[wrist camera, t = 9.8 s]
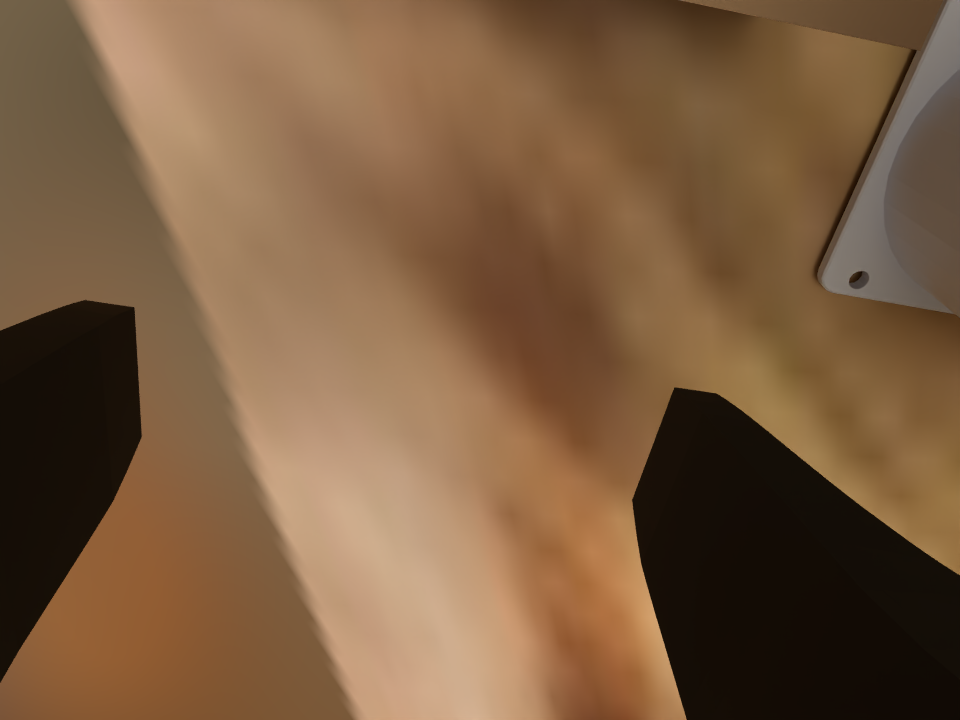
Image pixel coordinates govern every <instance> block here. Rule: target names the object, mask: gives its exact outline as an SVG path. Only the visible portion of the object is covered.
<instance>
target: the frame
mask: <svg viewBox="0 0 960 720" xmlns="http://www.w3.org/2000/svg"><path fill="white" fill-rule="evenodd" d="M680 1H685V2H690V3H695V4H700V5H704V6H709V7H714V8H719V9H723V10H728V11H733V12H738V13H742V14H747V15H752V16H757V17H761V18H766V19H771V20H776V21H780V22H785V23H790V24H795V25H799V26H804V27H809V28H814V29H818V30H823V31H828V32H833V33H838V34H842V35H847V36H852V37H857V38H861V39H866V40H871V41H876V42H880V43H885V44H890V45H895V46H899V47H904V48H909V49H914V50H918V51H920V50H921V48H922V46H923V44H924V42H925V39H926V37H927V35H928V33H929V31H930V28H931V26H932V24H933V22H934V20H935V17H936V15H937V13H938V11H939V8H940V6H941V4H942V2H943V0H680Z"/></svg>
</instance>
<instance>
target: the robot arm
mask: <svg viewBox="0 0 960 720" xmlns="http://www.w3.org/2000/svg"><path fill="white" fill-rule="evenodd" d="M858 271H863V272H862V276H861V277H860V278H859V280H857V281H855V282H854V283H849V279H850V277H851V276H852V275H853V274H854V273H856V272H858ZM817 277H818V281H819V282H820V284H821V285H822V286H823V287H824V288H825V289H826V290H827V291H829V292H832V293H836V294H842V295H848V296H854V297H859V298H865V299H871V300H876V301H882V302H888V303H894V304H899V305H905V306H911V307H917V308H922V309H928V310H934V311H939V312H945V313H951V314H956V315H957V316H958V317H959V318H960V0H943V2H942V4H941V6H940V8H939V11H938V13H937V15H936V17H935V20H934V22H933V24H932V26H931V28H930V31H929V33H928V35H927V37H926V39H925V42H924V44H923V46H922V48H921V50H920V51H918V50H917V52H916V54H915V56H914V58H913V61H912V63H911V65H910V67H909V70H908V72H907V74H906V76H905V78H904V81H903V83H902V85H901V87H900V90H899V92H898V94H897V96H896V98H895V101H894V103H893V105H892V107H891V109H890V112H889V114H888V116H887V118H886V121H885V123H884V125H883V127H882V129H881V132H880V134H879V136H878V138H877V141H876V143H875V145H874V147H873V149H872V152H871V154H870V156H869V158H868V160H867V163H866V165H865V167H864V169H863V172H862V174H861V176H860V178H859V180H858V183H857V185H856V187H855V189H854V192H853V194H852V196H851V198H850V200H849V203H848V205H847V207H846V209H845V211H844V214H843V216H842V218H841V220H840V223H839V225H838V227H837V229H836V231H835V234H834V236H833V238H832V240H831V243H830V245H829V247H828V249H827V251H826V254H825V256H824V258H823V260H822V262H821V265H820V267H819V270H818V274H817ZM141 437H142V435H141V417H140V398H139V381H138V364H137V345H136V327H135V311H134V307H127V306H120V305H114V304H108V303H101V302H94V301H87V300H84V301H80V302H77V303H73V304H70V305H66V306H63V307H61V308H58V309H55V310H52V311H49V312H47V313H44V314H41V315H39V316H36V317H34V318H31V319H29V320H26V321H23V322H21V323H19V324H16V325H13V326H11V327H9V328H6V329H3V330H1V331H0V682H1V681H2V679H3V677H4V675H5V674H6V672H7V670H8V668H9V667H10V665H11V663H12V662H13V659H14V658H15V656H16V655H17V653H18V651H19V649H20V648H21V646H22V645H23V643H24V642H25V640H26V638H27V637H28V635H29V634H30V632H31V631H32V629H33V627H34V626H35V624H36V623H37V621H38V620H39V618H40V616H41V615H42V613H43V612H44V610H45V609H46V607H47V605H48V604H49V602H50V601H51V599H52V598H53V596H54V594H55V593H56V591H57V590H58V588H59V587H60V585H61V584H62V582H63V580H64V579H65V577H66V576H67V574H68V572H69V571H70V569H71V568H72V566H73V565H74V563H75V562H76V560H77V558H78V557H79V555H80V554H81V552H82V551H83V549H84V547H85V546H86V544H87V542H88V541H89V539H90V537H91V536H92V534H93V533H94V531H95V530H96V528H97V526H98V524H99V523H100V522H101V520H102V518H103V517H104V515H105V514H106V512H107V510H108V509H109V507H110V505H111V504H112V502H113V500H114V498H115V496H116V494H117V491H118V489H119V487H120V485H121V483H122V481H123V479H124V476H125V474H126V472H127V470H128V467H129V465H130V463H131V461H132V458H133V456H134V454H135V451H136V449H137V447H138V444H139V442H140V439H141ZM632 502H633V510H634V518H635V526H636V534H637V540H638V546H639V553H640V559H641V565H642V568H643V572H644V576H645V579H646V583H647V586H648V590H649V593H650V597H651V600H652V604H653V607H654V611H655V614H656V618H657V621H658V624H659V628H660V631H661V634H662V638H663V641H664V644H665V648H666V651H667V654H668V658H669V661H670V665H671V668H672V671H673V675H674V678H675V681H676V685H677V688H678V691H679V695H680V698H681V702H682V705H683V708H684V712H685V715H686V719H687V720H960V575H958V574H957V573H955V572H953V571H952V570H950V569H949V568H947V567H946V566H944V565H943V564H941V563H939V562H938V561H937V560H935V559H934V558H932V557H931V556H929V555H928V554H926V553H925V552H923V551H922V550H921V549H919V548H918V547H916V546H915V545H913V544H912V543H910V542H909V541H908V540H906V539H905V538H904V537H902V536H901V535H900V534H898V533H897V532H895V531H894V530H893V529H891V528H890V527H889V526H887V525H886V524H885V523H883V522H882V521H880V520H879V519H878V518H876V517H875V516H874V515H872V514H871V513H870V512H868V511H867V510H865V509H864V508H863V507H862V506H860V505H859V504H858V503H856V502H855V501H854V500H853V499H851V498H850V497H849V496H847V495H846V494H845V493H843V492H842V491H841V490H840V489H838V488H837V487H836V486H835V485H833V484H832V483H831V482H829V481H828V480H827V479H826V478H824V477H823V476H822V475H821V474H820V473H818V472H817V471H816V470H815V469H813V468H812V467H811V466H810V465H808V464H807V463H806V462H805V461H803V460H802V459H801V458H800V457H799V456H797V455H796V454H795V453H794V452H792V451H791V450H790V449H789V448H787V447H786V446H785V445H784V444H783V443H781V442H780V441H779V440H778V439H776V438H775V437H774V436H773V435H772V434H770V433H769V432H768V431H767V430H765V429H764V428H763V427H762V426H760V425H759V424H758V423H757V422H755V421H754V420H753V419H752V418H750V417H749V416H748V415H746V414H745V413H744V412H743V411H741V410H740V409H739V408H737V407H736V406H735V405H733V404H732V403H730V402H729V401H727V400H726V399H724V398H723V397H721V396H720V395H718V394H716V393H709V392H702V391H696V390H689V389H682V388H675V387H674V390H673V393H672V395H671V398H670V401H669V403H668V406H667V409H666V411H665V414H664V417H663V419H662V422H661V425H660V427H659V430H658V433H657V435H656V438H655V441H654V443H653V446H652V449H651V451H650V454H649V457H648V459H647V462H646V465H645V467H644V470H643V473H642V475H641V478H640V481H639V483H638V486H637V489H636V491H635V494H634V497H633V499H632Z"/></svg>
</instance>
